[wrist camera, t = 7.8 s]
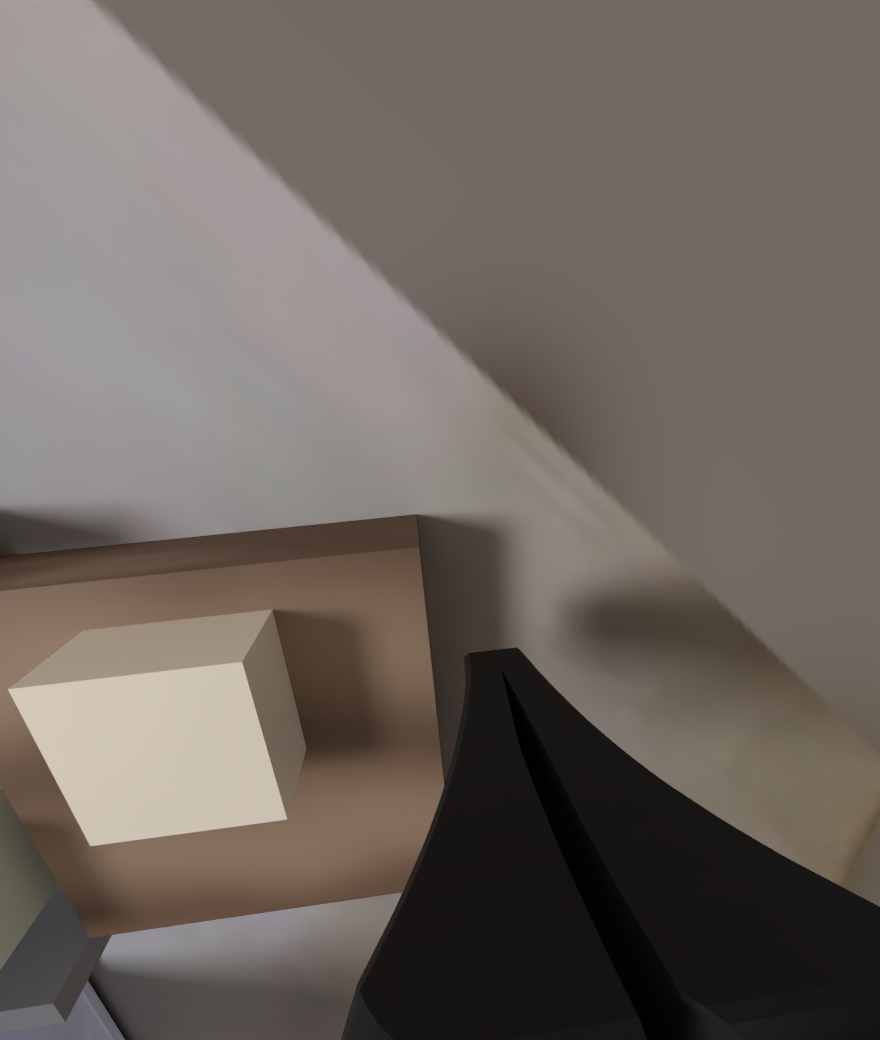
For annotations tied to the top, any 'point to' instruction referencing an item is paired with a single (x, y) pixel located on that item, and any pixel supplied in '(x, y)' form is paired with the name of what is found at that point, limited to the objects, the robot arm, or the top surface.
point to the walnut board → (319, 700)
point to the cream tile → (168, 726)
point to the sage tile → (19, 880)
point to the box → (48, 968)
